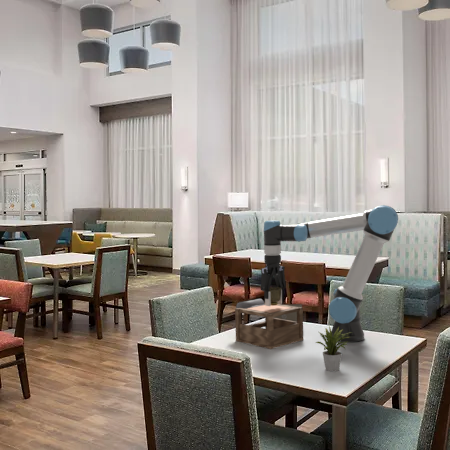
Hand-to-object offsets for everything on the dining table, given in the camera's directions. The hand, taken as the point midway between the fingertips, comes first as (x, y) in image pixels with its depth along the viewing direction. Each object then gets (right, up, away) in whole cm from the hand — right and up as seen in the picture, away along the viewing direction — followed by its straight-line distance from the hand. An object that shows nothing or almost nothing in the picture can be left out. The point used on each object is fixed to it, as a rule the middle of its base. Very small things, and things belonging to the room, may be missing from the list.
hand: (273, 304), depth 255 cm
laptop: (+7, -16, +30) cm, 35 cm away
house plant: (+18, -18, -45) cm, 52 cm away
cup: (0, 0, 0) cm, 0 cm away
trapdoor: (-4, -5, +5) cm, 8 cm away
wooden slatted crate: (-2, -17, +3) cm, 17 cm away
